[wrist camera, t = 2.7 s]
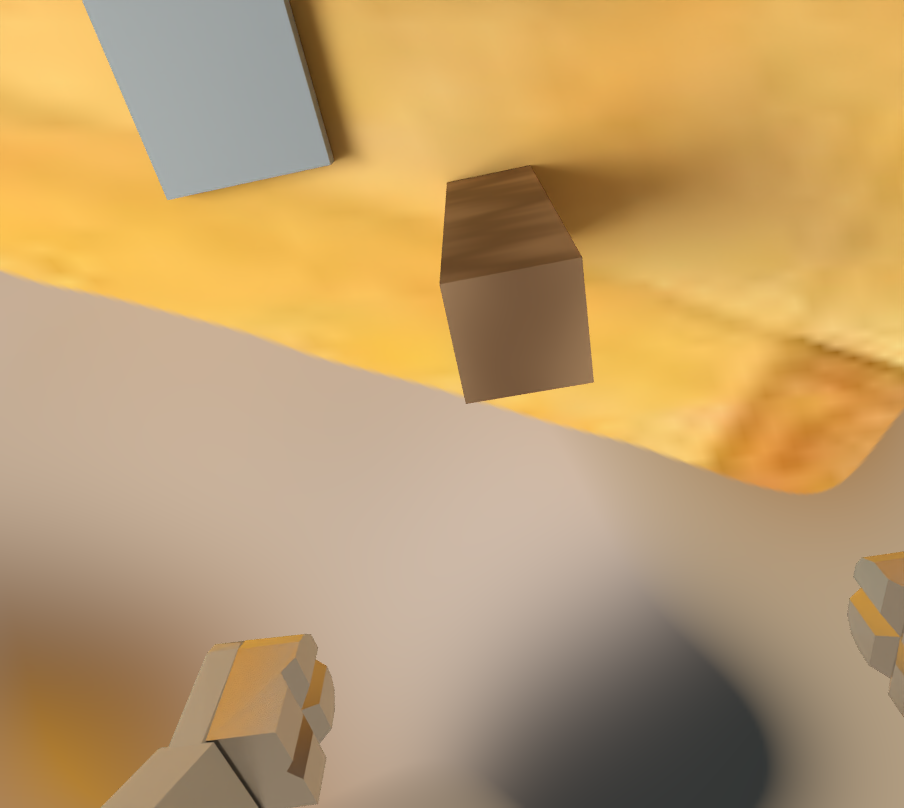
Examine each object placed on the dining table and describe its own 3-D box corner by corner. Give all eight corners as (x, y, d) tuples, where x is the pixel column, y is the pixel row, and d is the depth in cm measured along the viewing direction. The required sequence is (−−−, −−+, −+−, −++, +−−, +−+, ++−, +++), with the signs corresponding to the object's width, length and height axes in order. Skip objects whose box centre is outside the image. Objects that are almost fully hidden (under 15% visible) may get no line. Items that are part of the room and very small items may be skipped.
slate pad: (276, -46, 25) (269, -48, 24) (334, 161, 29) (330, 164, 28) (94, 1, 26) (82, 0, 25) (175, 195, 30) (167, 199, 29)
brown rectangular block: (530, 165, 29) (581, 257, 17) (540, 247, 31) (593, 382, 19) (446, 182, 29) (439, 284, 17) (462, 262, 31) (465, 404, 19)
